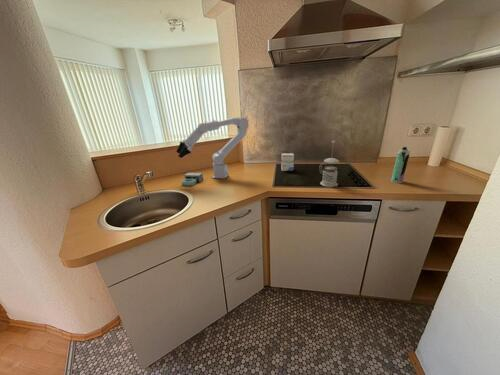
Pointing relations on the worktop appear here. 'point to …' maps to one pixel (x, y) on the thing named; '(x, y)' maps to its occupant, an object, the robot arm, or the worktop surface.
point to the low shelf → (194, 176)
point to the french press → (331, 179)
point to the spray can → (400, 165)
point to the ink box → (287, 162)
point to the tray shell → (189, 182)
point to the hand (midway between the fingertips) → (178, 154)
